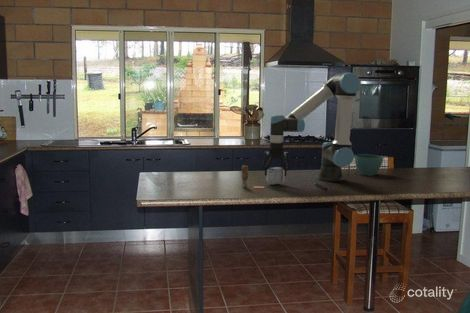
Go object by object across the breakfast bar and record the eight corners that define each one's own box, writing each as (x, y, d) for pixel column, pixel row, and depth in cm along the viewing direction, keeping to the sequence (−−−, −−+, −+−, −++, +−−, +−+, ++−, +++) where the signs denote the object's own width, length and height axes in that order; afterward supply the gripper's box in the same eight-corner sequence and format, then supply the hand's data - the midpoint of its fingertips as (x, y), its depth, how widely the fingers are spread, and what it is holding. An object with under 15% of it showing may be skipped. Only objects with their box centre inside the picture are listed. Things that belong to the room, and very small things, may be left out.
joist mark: (264, 187, 283) (264, 186, 283) (264, 188, 280) (264, 187, 280) (253, 187, 283) (253, 186, 283) (253, 188, 280) (253, 187, 280)
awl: (247, 186, 283) (248, 165, 282) (247, 188, 280) (248, 166, 278) (241, 186, 283) (242, 165, 282) (241, 187, 280) (242, 166, 278)
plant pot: (385, 174, 335) (386, 156, 333) (377, 178, 320) (378, 159, 318) (358, 171, 345) (359, 153, 343) (349, 175, 329) (350, 156, 328)
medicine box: (277, 181, 295) (277, 166, 294) (282, 182, 292) (283, 167, 291) (267, 183, 290) (268, 168, 289) (273, 184, 287) (273, 169, 286)
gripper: (294, 141, 292) (293, 180, 295) (257, 141, 292) (256, 179, 295) (296, 143, 284) (294, 183, 287) (258, 142, 284) (256, 182, 287)
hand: (275, 181), depth 291 cm, fingers closed on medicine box, 9 cm apart
